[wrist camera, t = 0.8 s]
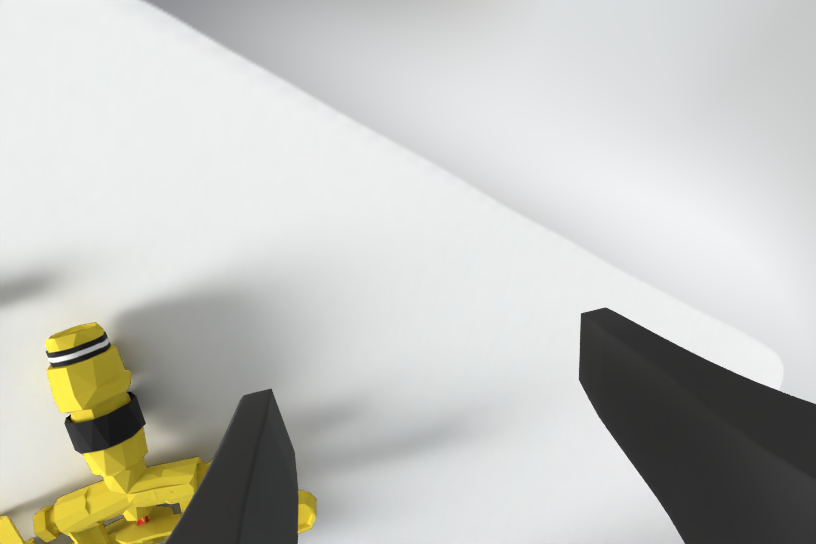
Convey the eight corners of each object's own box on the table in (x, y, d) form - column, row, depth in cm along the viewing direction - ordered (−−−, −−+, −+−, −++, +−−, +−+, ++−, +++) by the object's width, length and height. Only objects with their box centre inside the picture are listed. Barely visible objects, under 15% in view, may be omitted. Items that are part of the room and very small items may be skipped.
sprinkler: (245, 293, 24) (333, 586, 27) (257, 277, 27) (333, 533, 30) (-239, 417, 22) (-85, 716, 25) (-151, 380, 26) (-28, 642, 29)
